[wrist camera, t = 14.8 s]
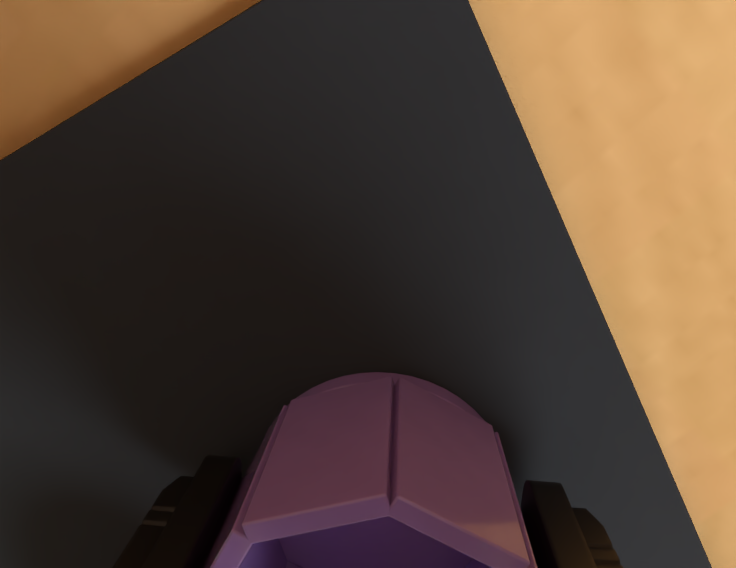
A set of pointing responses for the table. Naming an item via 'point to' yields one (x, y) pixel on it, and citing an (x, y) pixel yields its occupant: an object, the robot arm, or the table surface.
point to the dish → (375, 484)
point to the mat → (299, 277)
